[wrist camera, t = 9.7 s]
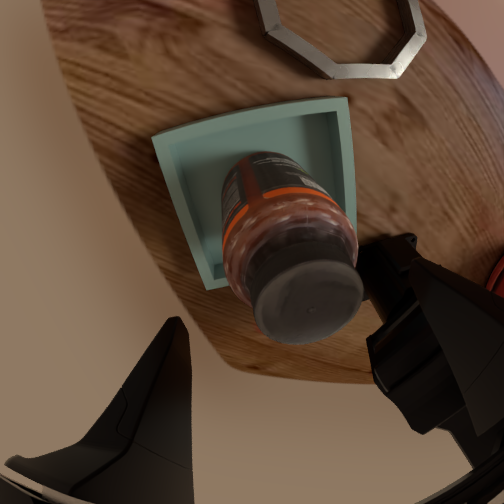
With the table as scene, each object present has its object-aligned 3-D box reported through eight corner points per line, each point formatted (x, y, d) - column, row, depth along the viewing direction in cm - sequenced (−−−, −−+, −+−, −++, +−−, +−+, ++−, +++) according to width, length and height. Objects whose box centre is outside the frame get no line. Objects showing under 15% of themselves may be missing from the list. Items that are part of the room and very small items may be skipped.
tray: (344, 239, 22) (356, 256, 20) (207, 270, 22) (206, 290, 20) (331, 95, 16) (346, 97, 14) (160, 131, 16) (151, 137, 14)
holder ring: (421, 80, 15) (433, 81, 13) (273, 85, 15) (278, 84, 14) (389, -45, 8) (399, -50, 7) (236, -55, 8) (237, -65, 7)
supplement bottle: (228, 234, 20) (235, 370, 11) (215, 155, 17) (201, 249, 7) (308, 223, 20) (371, 344, 11) (305, 145, 17) (402, 222, 7)
